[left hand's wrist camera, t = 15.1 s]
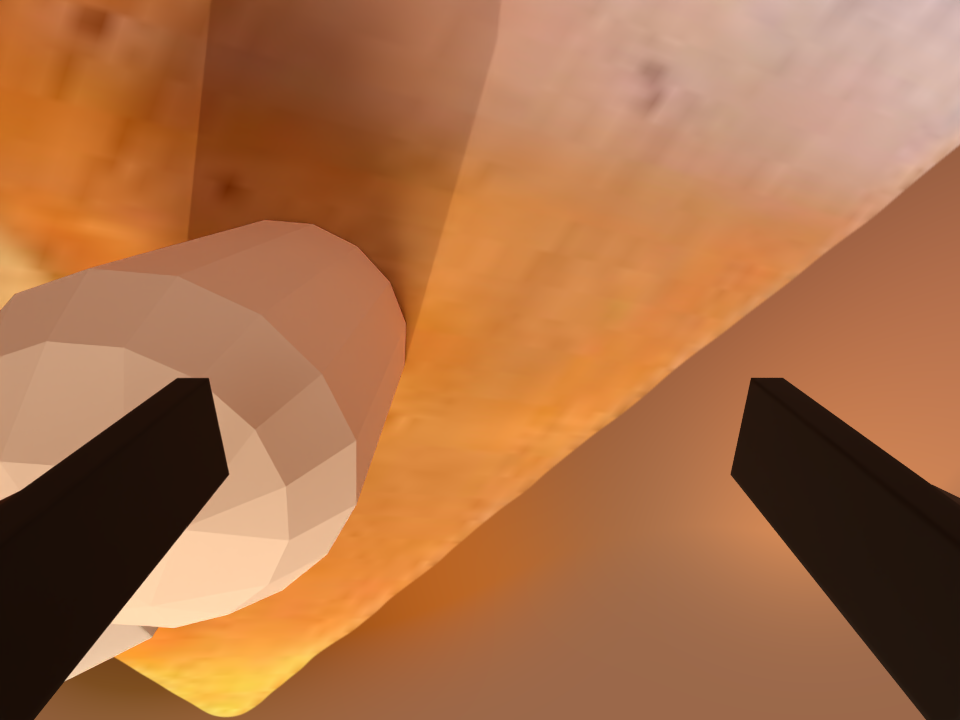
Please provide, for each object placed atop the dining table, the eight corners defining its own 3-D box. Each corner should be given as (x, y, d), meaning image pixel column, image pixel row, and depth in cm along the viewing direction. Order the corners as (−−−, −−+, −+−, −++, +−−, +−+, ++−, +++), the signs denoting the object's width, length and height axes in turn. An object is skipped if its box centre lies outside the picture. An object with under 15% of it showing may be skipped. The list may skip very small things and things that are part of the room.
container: (424, 423, 50) (365, 705, 24) (216, 444, 51) (-57, 737, 25) (388, 205, 43) (245, 276, 17) (144, 233, 44) (-353, 342, 18)
